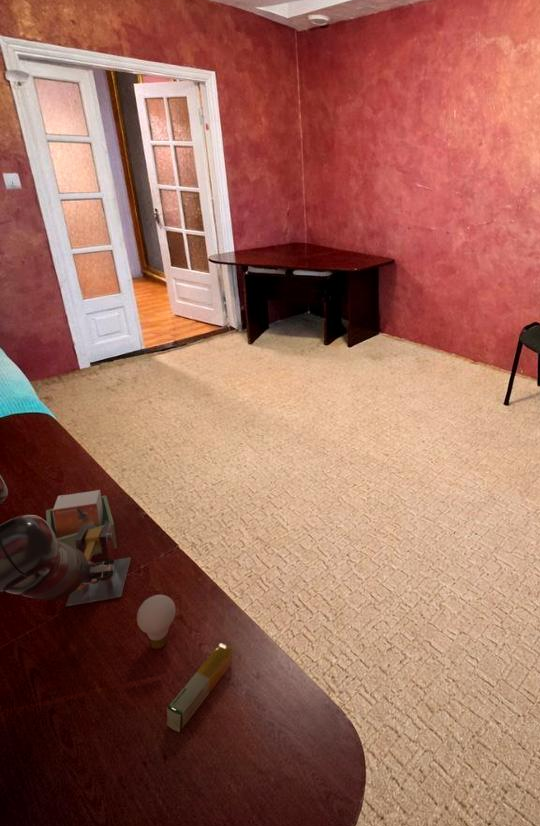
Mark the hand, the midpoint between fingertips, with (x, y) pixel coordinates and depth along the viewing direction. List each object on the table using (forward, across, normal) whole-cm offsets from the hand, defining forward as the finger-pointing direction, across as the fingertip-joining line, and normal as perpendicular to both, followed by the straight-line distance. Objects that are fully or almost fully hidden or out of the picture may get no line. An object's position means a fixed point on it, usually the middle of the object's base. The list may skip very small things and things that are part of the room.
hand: (82, 578), depth 84 cm
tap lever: (+3, 0, +2) cm, 3 cm away
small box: (+23, -6, +10) cm, 26 cm away
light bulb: (+1, +12, -13) cm, 18 cm away
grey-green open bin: (+23, -6, +10) cm, 26 cm away
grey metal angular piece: (+13, 0, 0) cm, 13 cm away
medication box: (-7, +20, -21) cm, 30 cm away
